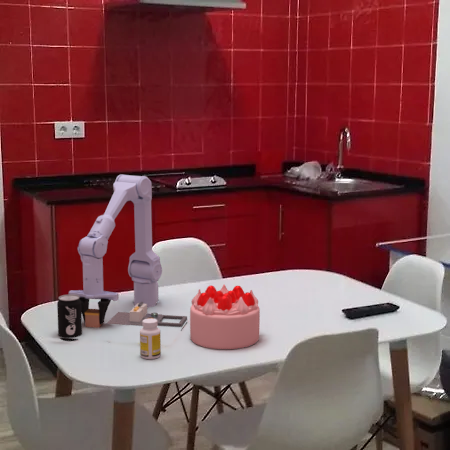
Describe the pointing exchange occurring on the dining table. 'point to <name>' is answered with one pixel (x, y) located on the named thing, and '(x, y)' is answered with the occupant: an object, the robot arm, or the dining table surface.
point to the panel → (124, 318)
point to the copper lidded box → (92, 318)
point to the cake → (224, 318)
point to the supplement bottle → (150, 339)
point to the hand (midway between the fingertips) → (94, 322)
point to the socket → (180, 324)
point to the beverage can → (69, 317)
